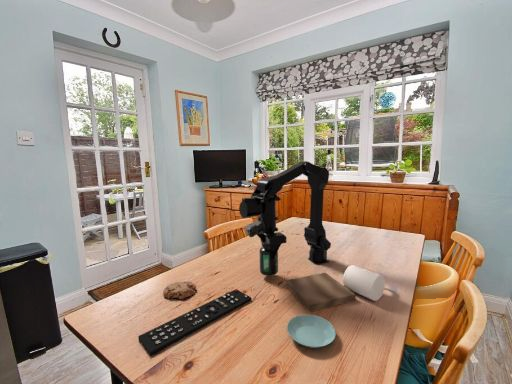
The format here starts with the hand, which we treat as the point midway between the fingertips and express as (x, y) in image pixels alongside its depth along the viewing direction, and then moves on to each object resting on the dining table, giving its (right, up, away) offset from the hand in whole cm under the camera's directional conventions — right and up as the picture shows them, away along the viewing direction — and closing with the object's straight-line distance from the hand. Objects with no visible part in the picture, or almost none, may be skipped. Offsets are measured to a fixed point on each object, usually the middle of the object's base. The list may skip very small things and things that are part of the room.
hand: (268, 255), depth 95 cm
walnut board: (+16, -10, -10) cm, 21 cm away
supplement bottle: (0, -7, +1) cm, 7 cm away
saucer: (+9, -13, -30) cm, 34 cm away
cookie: (-30, -11, -8) cm, 33 cm away
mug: (+32, -10, -10) cm, 35 cm away
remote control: (-20, -13, -22) cm, 32 cm away
